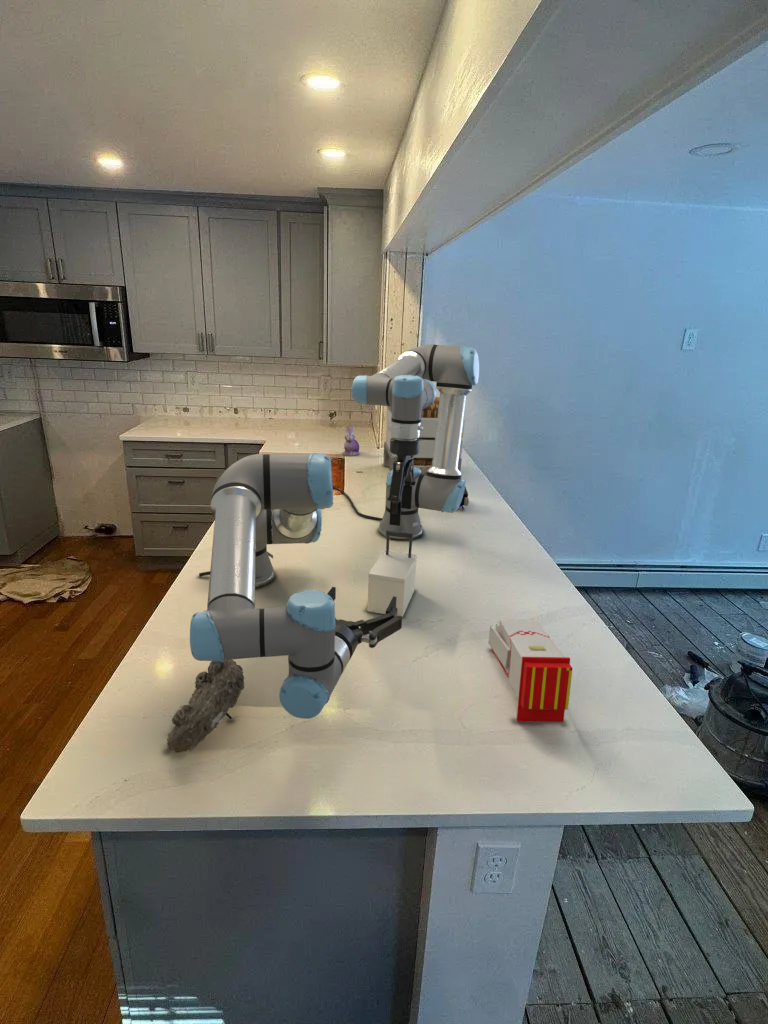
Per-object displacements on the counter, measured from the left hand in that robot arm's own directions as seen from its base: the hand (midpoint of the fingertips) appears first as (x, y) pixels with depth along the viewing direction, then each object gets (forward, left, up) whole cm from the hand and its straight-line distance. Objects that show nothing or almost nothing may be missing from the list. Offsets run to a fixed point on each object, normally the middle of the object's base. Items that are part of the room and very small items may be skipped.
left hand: (364, 597), depth 122 cm
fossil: (-22, -26, -16) cm, 38 cm away
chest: (0, +29, -16) cm, 33 cm away
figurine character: (+7, +115, -16) cm, 116 cm away
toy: (+35, +4, -16) cm, 39 cm away
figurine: (-59, +180, -16) cm, 190 cm away
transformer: (-17, +157, -16) cm, 159 cm away
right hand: (0, +35, +7) cm, 35 cm away
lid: (0, +29, -6) cm, 30 cm away
